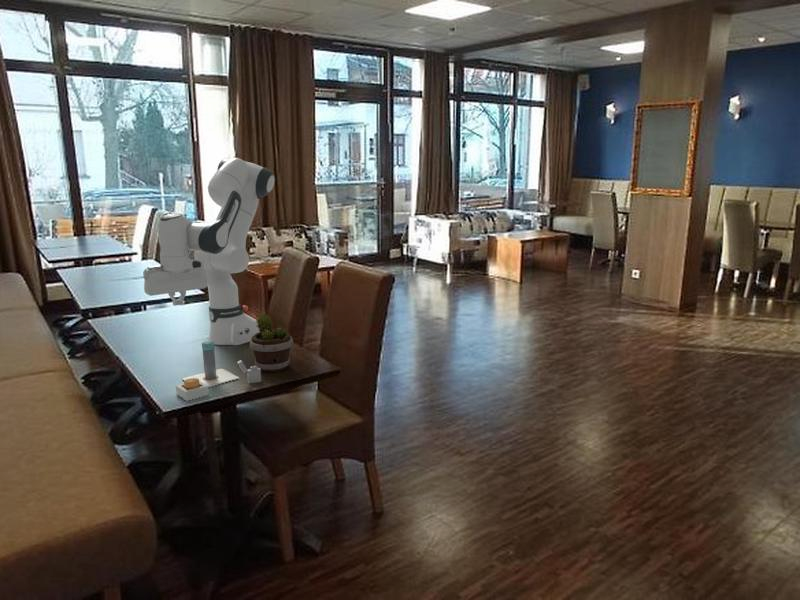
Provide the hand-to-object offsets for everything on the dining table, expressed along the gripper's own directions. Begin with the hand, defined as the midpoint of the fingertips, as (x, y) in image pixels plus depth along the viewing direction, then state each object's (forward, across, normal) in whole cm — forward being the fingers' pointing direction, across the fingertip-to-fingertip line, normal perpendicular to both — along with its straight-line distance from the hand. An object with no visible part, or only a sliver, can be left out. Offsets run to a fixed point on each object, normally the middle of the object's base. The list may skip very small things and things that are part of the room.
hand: (178, 304), depth 194 cm
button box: (+23, -7, -22) cm, 33 cm away
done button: (+21, -7, -22) cm, 31 cm away
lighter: (+23, +11, -25) cm, 36 cm away
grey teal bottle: (+23, +3, -14) cm, 27 cm away
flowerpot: (+23, +24, -18) cm, 38 cm away
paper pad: (+23, +3, -14) cm, 27 cm away
